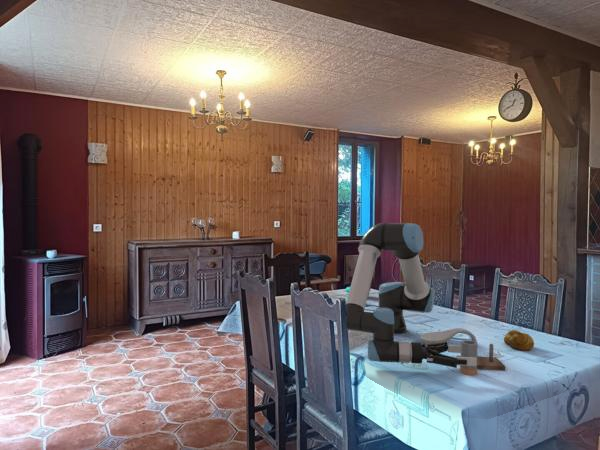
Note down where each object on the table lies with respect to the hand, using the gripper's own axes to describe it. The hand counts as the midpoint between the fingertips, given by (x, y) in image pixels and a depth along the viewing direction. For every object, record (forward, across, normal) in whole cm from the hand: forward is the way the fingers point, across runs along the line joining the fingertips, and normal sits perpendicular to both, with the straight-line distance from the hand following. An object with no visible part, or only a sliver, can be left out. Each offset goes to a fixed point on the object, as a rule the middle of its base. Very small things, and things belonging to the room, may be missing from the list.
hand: (471, 355), depth 153 cm
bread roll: (+28, -34, -7) cm, 45 cm away
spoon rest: (-1, -34, -7) cm, 35 cm away
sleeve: (-1, 0, -6) cm, 7 cm away
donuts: (-42, -114, -7) cm, 122 cm away
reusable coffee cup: (-37, -134, -7) cm, 139 cm away
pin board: (+6, -10, -6) cm, 13 cm away
